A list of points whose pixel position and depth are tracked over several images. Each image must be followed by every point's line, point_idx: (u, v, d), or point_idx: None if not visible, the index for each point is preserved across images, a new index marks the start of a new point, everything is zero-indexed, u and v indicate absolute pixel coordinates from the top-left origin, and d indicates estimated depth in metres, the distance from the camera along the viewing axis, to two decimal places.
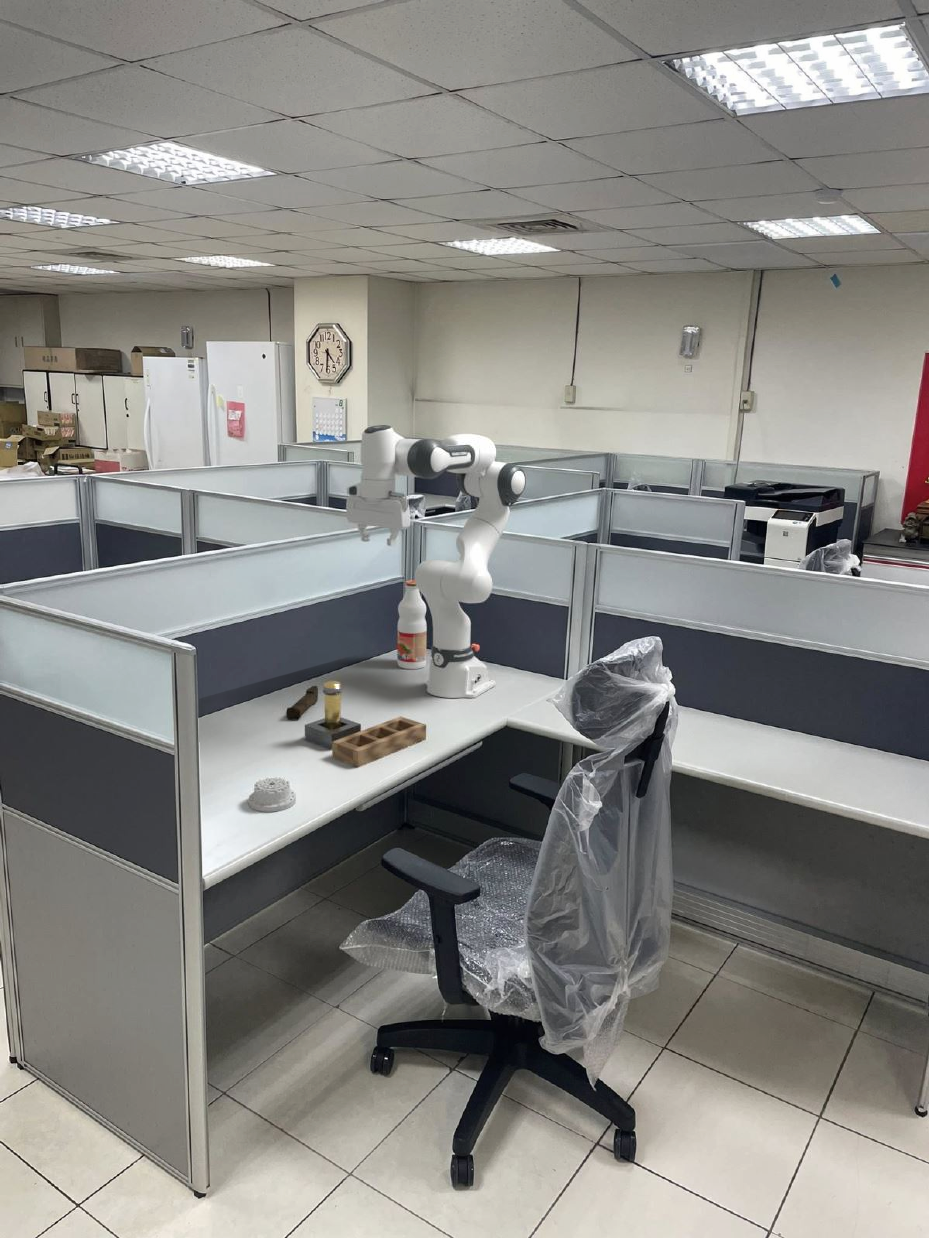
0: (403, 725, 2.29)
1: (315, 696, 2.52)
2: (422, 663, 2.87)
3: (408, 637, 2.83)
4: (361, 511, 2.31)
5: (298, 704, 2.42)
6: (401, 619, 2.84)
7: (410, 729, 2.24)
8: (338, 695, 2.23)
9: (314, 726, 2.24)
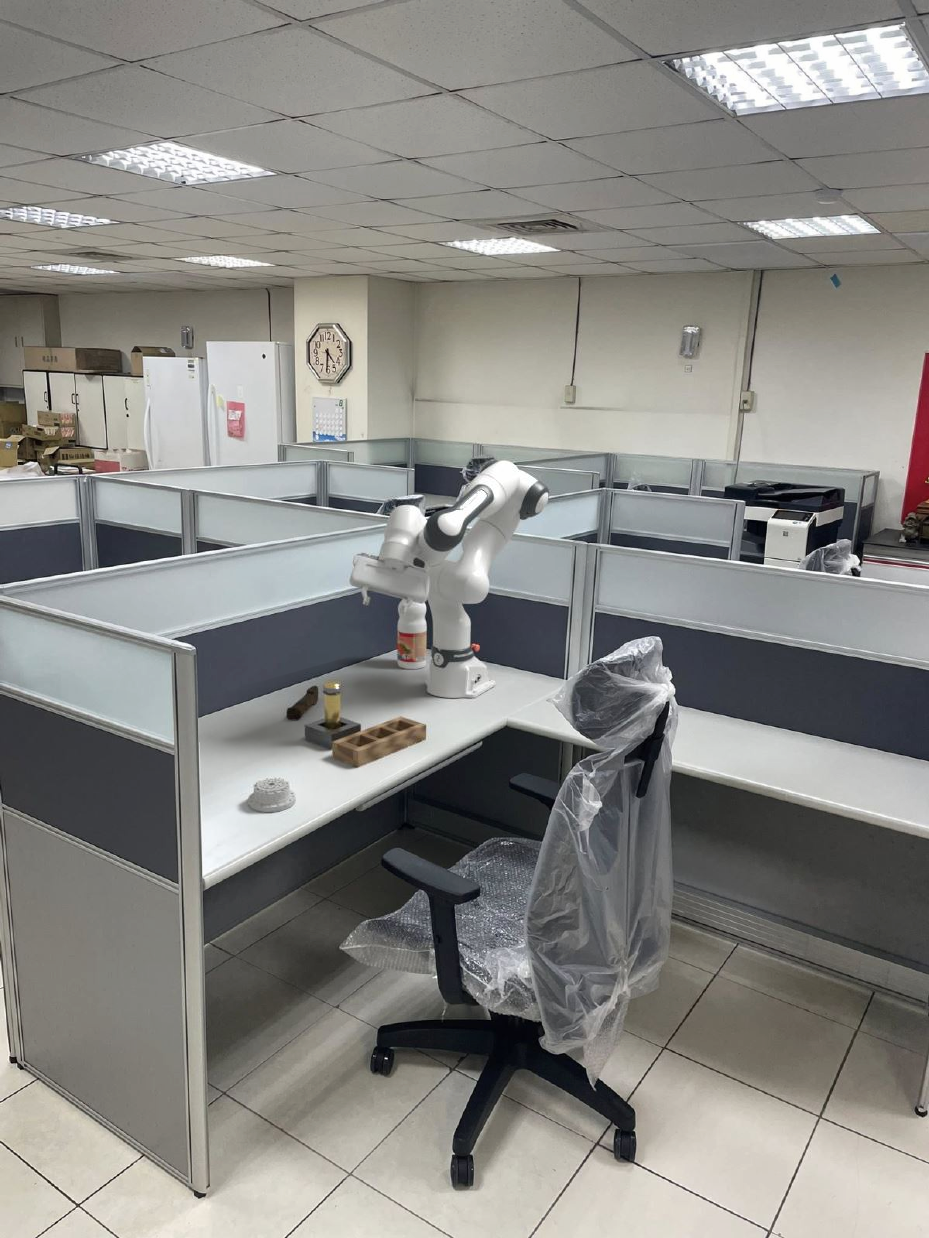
0: (403, 725, 2.29)
1: (315, 696, 2.52)
2: (422, 663, 2.87)
3: (408, 637, 2.83)
4: None
5: (298, 704, 2.42)
6: (401, 619, 2.84)
7: (410, 729, 2.24)
8: (338, 695, 2.23)
9: (314, 726, 2.24)
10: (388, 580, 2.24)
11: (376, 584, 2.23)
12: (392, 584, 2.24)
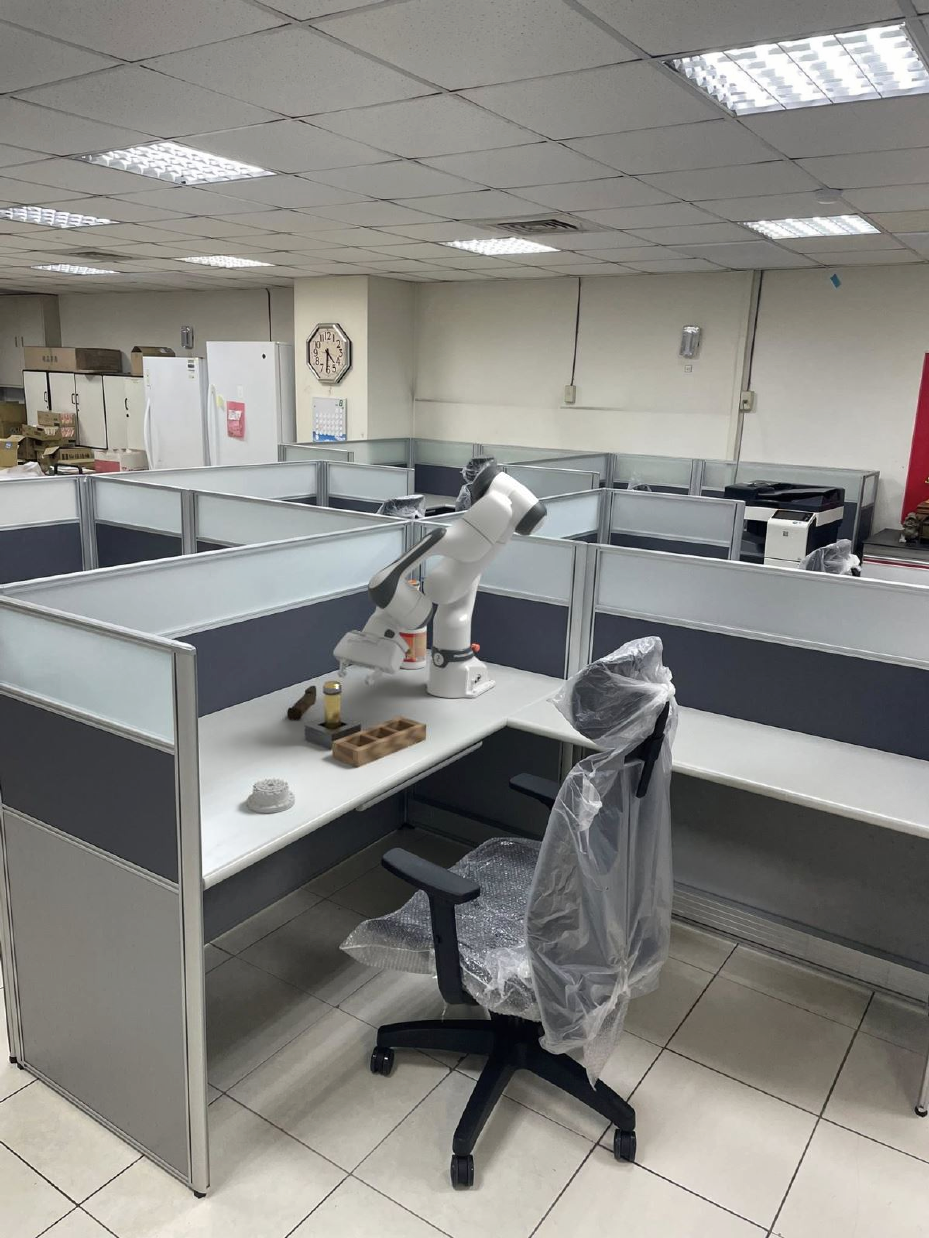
0: (403, 725, 2.29)
1: (314, 696, 2.52)
2: (422, 663, 2.87)
3: (408, 637, 2.83)
4: None
5: (299, 704, 2.42)
6: None
7: (410, 729, 2.24)
8: (338, 695, 2.23)
9: (314, 726, 2.24)
10: (361, 652, 2.30)
11: (350, 657, 2.31)
12: (364, 656, 2.29)
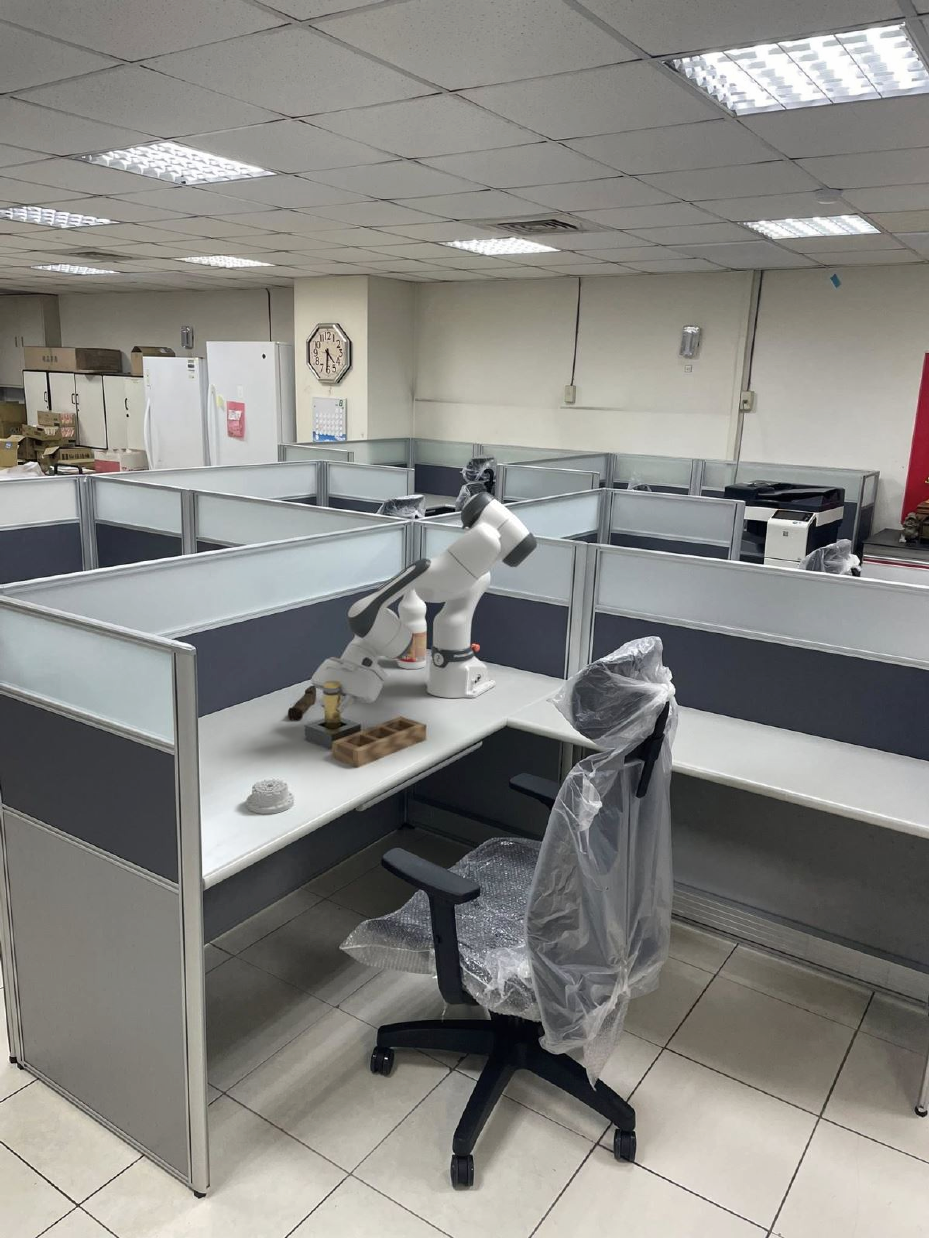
0: (403, 725, 2.29)
1: (314, 696, 2.52)
2: (422, 663, 2.87)
3: None
4: None
5: (299, 704, 2.41)
6: (401, 619, 2.84)
7: (410, 729, 2.24)
8: (338, 695, 2.23)
9: (314, 726, 2.24)
10: (338, 680, 2.26)
11: None
12: (341, 685, 2.25)
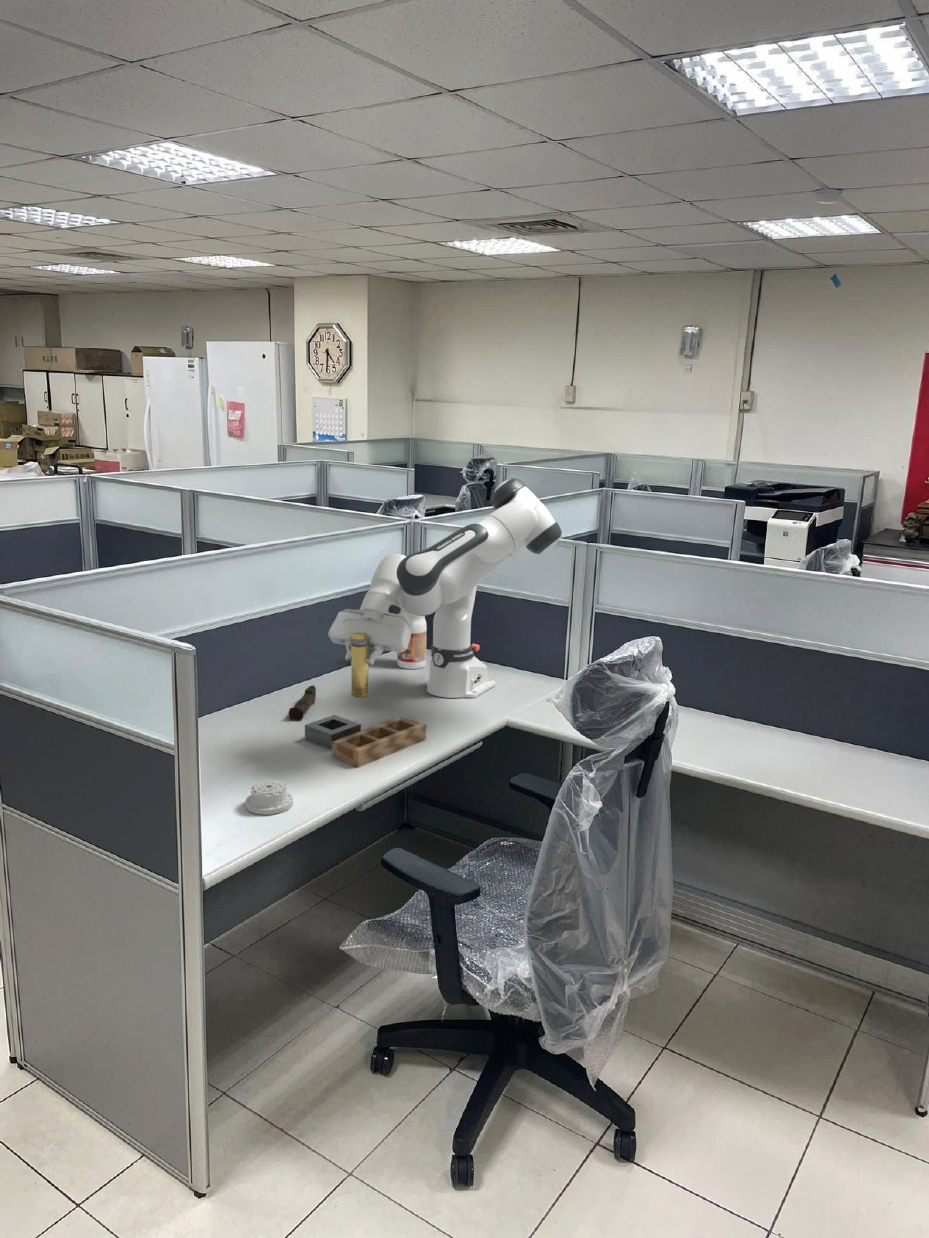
0: (403, 725, 2.29)
1: (314, 696, 2.52)
2: (422, 663, 2.87)
3: None
4: None
5: (300, 704, 2.41)
6: None
7: (410, 729, 2.24)
8: (367, 646, 2.09)
9: (314, 726, 2.24)
10: (363, 631, 2.12)
11: None
12: None
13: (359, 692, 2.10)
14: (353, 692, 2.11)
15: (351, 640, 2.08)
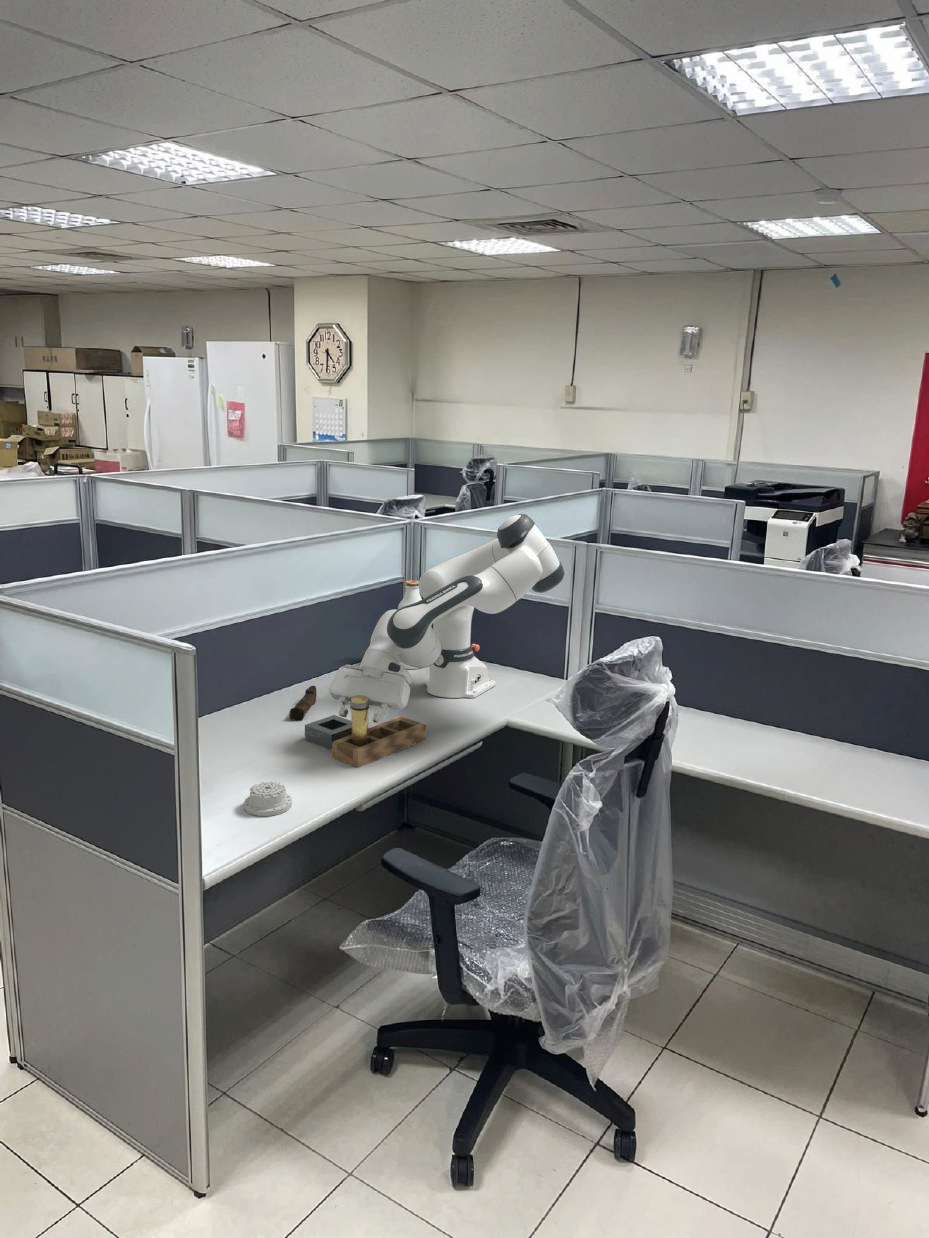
0: (403, 725, 2.29)
1: (314, 696, 2.52)
2: None
3: None
4: None
5: (301, 704, 2.41)
6: None
7: (410, 729, 2.24)
8: (367, 710, 2.13)
9: (314, 726, 2.24)
10: (363, 688, 2.16)
11: (351, 695, 2.16)
12: (367, 692, 2.15)
13: None
14: None
15: (351, 704, 2.12)
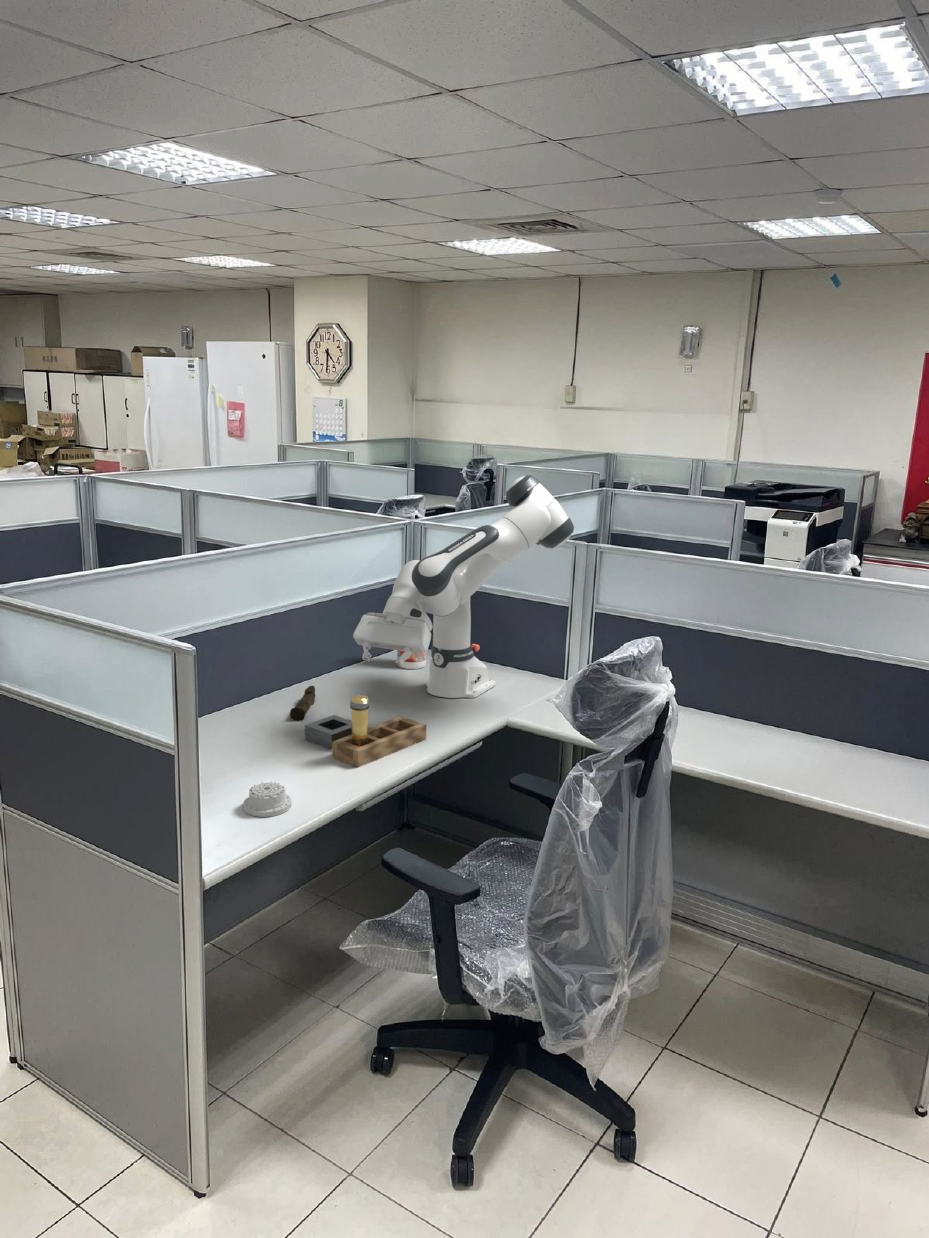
0: (403, 725, 2.29)
1: (313, 696, 2.52)
2: (422, 663, 2.87)
3: None
4: None
5: (301, 704, 2.41)
6: None
7: (410, 729, 2.24)
8: (367, 710, 2.13)
9: (314, 726, 2.24)
10: (386, 633, 2.25)
11: (374, 639, 2.25)
12: (390, 637, 2.24)
13: None
14: None
15: (351, 704, 2.12)
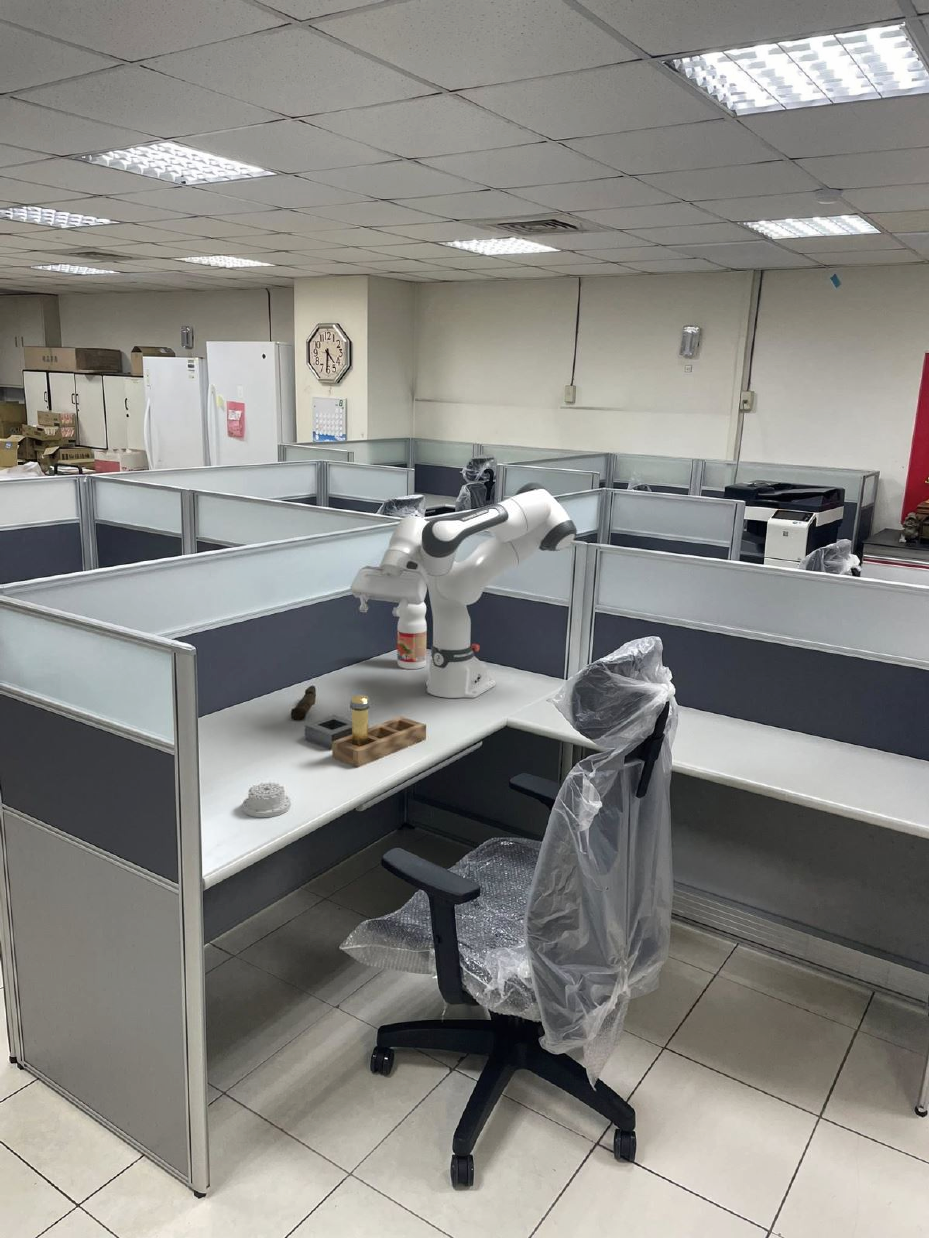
0: (403, 725, 2.29)
1: (314, 696, 2.52)
2: (422, 663, 2.87)
3: (408, 637, 2.83)
4: None
5: (302, 704, 2.41)
6: (401, 619, 2.84)
7: (410, 729, 2.24)
8: (367, 710, 2.13)
9: (314, 726, 2.24)
10: (383, 585, 2.29)
11: (371, 591, 2.29)
12: (387, 589, 2.28)
13: None
14: None
15: (351, 704, 2.12)
